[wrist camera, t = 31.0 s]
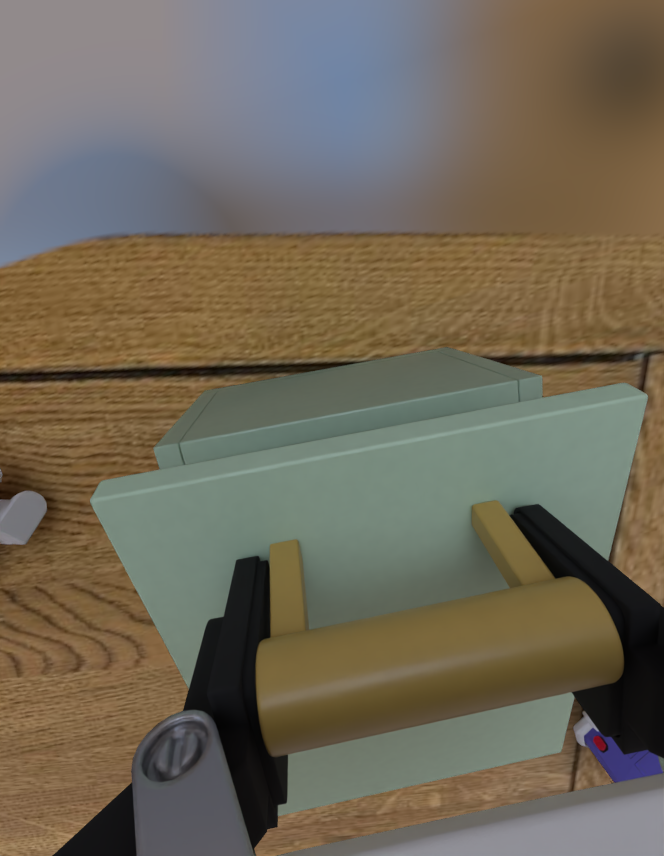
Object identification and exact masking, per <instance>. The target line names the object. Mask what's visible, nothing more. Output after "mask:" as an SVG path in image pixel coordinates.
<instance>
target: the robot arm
mask: <svg viewBox="0 0 664 856" xmlns="http://www.w3.org/2000/svg"><path fill="white" fill-rule="evenodd" d="M509 516H510V517H511V519H512V520H513V521H514V523H515V524H516V525H517V527H518V528H519V529H520V531H521V532H522V534H523V535H524V536H525V538H526V539H527V540H528V542H529V543H530V544H531V546H532V547H533V549H534V550H535V551H536V553H537V554H538V555H539V557H540V558H541V559H542V561H543V562H544V563H545V565H546V566H547V568H548V569H549V570H550V572H551V573H552V574H553V576H554V577H555V578H556V579H557V578H561V577H566V576H570V577H575V578H578V579H580V580H582V581H583V582H585V583H586V584H587V585H588V586H589V587H590V588H591V589H592V590H593V591H594V592H595V593H596V594H597V596H598V597H599V598H600V600H601V601H602V602H603V604H604V605H605V607H606V609H607V610H608V612H609V614H610V616H611V618H612V620H613V622H614V624H615V627H616V629H617V632H618V634H619V637H620V641H621V644H622V649H623V655H624V670H623V674H622V676H621V677H620V678H619V679H618V680H617V681H616V682H615V683H611V684H606V685H602V686H597V687H593V688H588V689H584V690H579V691H575V692H572V694H573V695H574V697H575V698H576V699H577V701H578V702H579V704H580V705H581V706H582V708H583V709H584V711H585V712H586V713H587V715H588V716H589V718H590V719H591V721H592V722H593V723H594V725H595V726H596V728H597V729H598V730H599V732H600V733H601V734H602V735H603V736H604V737H612V739H613V740H614V742H615V743H616V744H617V746H618V747H619V748H620V750H621V751H622V753H623V754H624V755H626V754H630V753H635V752H640V751H645V750H648V751H649V752H650V753H653V754H655V755H657V756H658V759H659V763H660V766H661V768H662V771H663V773H661V774H656V775H651V776H646V777H641V778H636V779H631V780H626V781H621V782H617V783H612V784H607V785H602V786H597V787H592V788H588V789H583V790H578V791H573V792H569V793H564V794H559V795H554V796H549V797H545V798H540V799H535V800H530V801H526V802H521V803H516V804H511V805H507V806H502V807H497V808H493V809H488V810H483V811H478V812H474V813H469V814H464V815H459V816H455V817H450V818H445V819H441V820H436V821H431V822H427V823H422V824H418V825H413V826H408V827H404V828H399V829H395V830H390V831H385V832H381V833H376V834H372V835H367V836H362V837H358V838H353V839H349V840H344V841H339V842H335V843H330V844H326V845H321V846H316V847H312V848H307V849H303V850H298V851H294V852H290V853H286V854H282V855H277V856H664V608H663V607H662V606H661V605H660V604H659V603H658V602H657V601H656V600H655V599H653V598H652V597H651V596H650V595H649V594H647V593H646V592H645V591H644V590H643V589H641V588H640V587H639V586H638V585H636V584H635V583H634V582H633V581H632V580H630V579H629V578H628V577H627V576H626V575H624V574H623V573H622V572H621V571H620V570H618V569H617V568H616V567H615V566H613V565H612V564H611V563H610V562H609V561H607V560H606V559H605V558H604V557H603V556H601V555H600V554H599V553H598V552H597V551H595V550H594V549H593V548H592V547H590V546H589V545H588V544H587V543H586V542H584V541H583V540H582V539H581V538H580V537H578V536H577V535H576V534H575V533H574V532H572V531H571V530H570V529H569V528H568V527H566V526H565V525H564V524H563V523H561V522H560V521H559V520H558V519H557V518H555V517H554V516H553V515H552V514H551V513H549V512H548V511H547V510H546V509H545V508H543V507H542V506H541V505H539V504H534V505H529V506H523V507H518V508H516V509H515V510H514V514H511V515H509ZM267 638H270V567H269V563H268V561H267V560H264V561H260V558H259V556H254V557H249V558H243V559H238V560H236V563H235V567H234V572H233V576H232V581H231V585H230V590H229V594H228V599H227V603H226V608H225V613H224V617H219V618H213V619H210V620H209V621H208V622H207V625H206V628H205V631H204V635H203V639H202V643H201V646H200V650H199V654H198V657H197V661H196V665H195V669H194V672H193V676H192V680H191V683H190V687H189V691H188V694H187V698H186V702H185V706H184V709H183V711H181V712H179V713H176V714H174V715H171V716H169V717H168V718H166V719H164V720H163V721H161V722H160V723H158V724H157V725H156V726H155V727H154V728H153V729H152V730H151V731H150V732H149V733H148V734H147V735H146V736H145V737H144V739H143V740H142V742H141V743H140V744H139V746H138V748H137V750H136V753H135V755H134V757H133V762H132V770H131V773H132V783H131V784H130V785H129V786H128V787H126V788H125V789H124V790H123V791H122V792H121V793H120V794H119V795H118V796H117V797H116V798H115V799H114V800H112V801H111V802H110V803H109V804H108V805H107V806H106V807H105V808H104V809H103V810H102V811H101V812H99V813H98V814H97V815H96V816H95V817H94V818H93V819H92V820H91V821H90V822H89V823H88V824H86V825H85V826H84V827H83V828H82V829H81V830H80V831H79V832H78V833H77V834H76V835H75V836H74V837H72V838H71V839H70V840H69V841H68V842H67V843H66V844H65V845H64V846H63V847H62V848H61V849H59V850H58V851H57V852H56V853H55V854H54V855H53V856H256V853H255V850H254V848H255V847H256V845H257V844H258V843H259V841H260V840H261V839H262V837H263V836H264V835H265V834H266V832H267V829H270V828H275V827H277V825H278V805H282V804H286V803H287V796H288V755H284V756H279V757H272V756H270V755H269V754H268V752H267V749H266V747H265V744H264V741H263V737H262V733H261V728H260V723H259V716H258V709H257V699H256V683H255V664H256V654H257V649H258V645H259V643H260V642H261V641H262V640H263V639H267Z"/></svg>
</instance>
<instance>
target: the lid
mask: <svg viewBox="0 0 664 856" xmlns="http://www.w3.org/2000/svg"><path fill="white" fill-rule="evenodd" d="M647 400H648V396H647V394H645V393H644V392H642V391H640V390H638V389H636V388H635V387H633V386H631V385H629V384H627V383H619V384H614V385H609V386H603V387H598V388H593V389H587V390H582V391H577V392H571V393H566V394H561V395H555V396H550V397H545V398H539V399H534V400H529V401H523V402H518V403H513V404H507V405H502V406H497V407H491V408H486V409H481V410H475V411H470V412H465V413H459V414H454V415H449V416H443V417H438V418H433V419H427V420H422V421H417V422H411V423H406V424H401V425H395V426H390V427H385V428H379V429H374V430H369V431H363V432H358V433H353V434H347V435H342V436H337V437H331V438H326V439H321V440H315V441H310V442H305V443H299V444H294V445H289V446H283V447H278V448H273V449H267V450H262V451H257V452H251V453H246V454H241V455H235V456H230V457H225V458H219V459H214V460H209V461H204V462H198V463H193V464H188V465H182V466H177V467H172V468H166V469H161V470H156V471H150V472H145V473H140V474H134V475H129V476H124V477H118V478H113V479H108V480H103V481H101V482H100V483H99V485H98V487H97V488H96V490H95V492H94V494H93V496H92V497H91V499H90V503H91V505H92V507H93V509H94V511H95V513H96V515H97V517H98V518H99V520H100V522H101V524H102V526H103V528H104V530H105V532H106V534H107V535H108V537H109V539H110V541H111V543H112V545H113V547H114V549H115V551H116V552H117V554H118V556H119V558H120V560H121V562H122V564H123V566H124V568H125V569H126V571H127V573H128V575H129V577H130V579H131V581H132V583H133V585H134V586H135V588H136V590H137V592H138V594H139V596H140V598H141V600H142V602H143V603H144V605H145V607H146V609H147V611H148V613H149V615H150V617H151V619H152V620H153V622H154V624H155V626H156V628H157V630H158V632H159V634H160V636H161V637H162V639H163V641H164V643H165V645H166V647H167V649H168V651H169V653H170V654H171V656H172V658H173V660H174V662H175V664H176V666H177V668H178V670H179V671H180V673H181V675H182V677H183V679H184V681H185V683H186V685H187V687H188V688H189V687H190V683H191V680H192V676H193V672H194V669H195V665H196V661H197V657H198V654H199V650H200V646H201V643H202V639H203V635H204V631H205V628H206V625H207V622H208V621H209V620H210V619H213V618H219V617H224V613H225V608H226V603H227V599H228V594H229V590H230V585H231V581H232V576H233V572H234V567H235V563H236V560H238V559H243V558H249V557H254V556H259V558H260V561H264V560H267V561H268V563H269V567H270V638H267V639H263V640H262V641H261V642H260V643H259V645H258V649H257V654H256V664H255V683H256V699H257V709H258V716H259V723H260V728H261V733H262V737H263V741H264V744H265V747H266V749H267V752H268V754H269V755H270V756H272V757H279V756H284V755H288V796H287V803H286V804H282V805H278V816H280V815H285V814H289V813H294V812H298V811H303V810H307V809H311V808H316V807H320V806H325V805H329V804H334V803H338V802H342V801H347V800H351V799H356V798H360V797H365V796H369V795H373V794H378V793H382V792H387V791H391V790H395V789H400V788H404V787H409V786H413V785H418V784H422V783H426V782H431V781H435V780H440V779H444V778H449V777H453V776H457V775H462V774H466V773H471V772H475V771H480V770H484V769H488V768H493V767H497V766H502V765H506V764H511V763H515V762H519V761H524V760H528V759H533V758H537V757H541V756H546V755H550V754H555V753H559V752H561V751H562V747H563V742H564V738H565V734H566V730H567V726H568V722H569V718H570V714H571V710H572V706H573V702H574V698H575V697H574V695H573V694H572V692H575V691H579V690H584V689H588V688H593V687H597V686H602V685H606V684H611V683H615V682H616V681H617V680H618V679H619V678H620V677H621V676H622V674H623V670H624V655H623V649H622V644H621V641H620V637H619V634H618V632H617V629H616V627H615V624H614V622H613V620H612V618H611V616H610V614H609V612H608V610H607V609H606V607H605V605H604V604H603V602H602V601H601V600H600V598H599V597H598V596H597V594H596V593H595V592H594V591H593V590H592V589H591V588H590V587H589V586H588V585H587V584H586V583H585V582H583V581H582V580H580V579H578V578H575V577H570V576H566V577H561V578H557V579H556V578H555V577H554V576H553V574H552V573H551V572H550V570H549V569H548V568H547V566H546V565H545V563H544V562H543V561H542V559H541V558H540V557H539V555H538V554H537V553H536V551H535V550H534V549H533V547H532V546H531V544H530V543H529V542H528V540H527V539H526V538H525V536H524V535H523V534H522V532H521V531H520V529H519V528H518V527H517V525H516V524H515V523H514V521H513V520H512V519H511V517H510V516H509V515H511V514H514V510H515V509H516V508H518V507H523V506H529V505H534V504H539V505H541V506H542V507H543V508H545V509H546V510H547V511H548V512H549V513H551V514H552V515H553V516H554V517H555V518H557V519H558V520H559V521H560V522H561V523H563V524H564V525H565V526H566V527H568V528H569V529H570V530H571V531H572V532H574V533H575V534H576V535H577V536H578V537H580V538H581V539H582V540H583V541H584V542H586V543H587V544H588V545H589V546H590V547H592V548H593V549H594V550H595V551H597V552H598V553H599V554H600V555H601V556H603V557H604V558H605V559H606V560H607V561H608V559H609V555H610V551H611V547H612V542H613V538H614V534H615V530H616V526H617V522H618V518H619V514H620V510H621V506H622V502H623V498H624V493H625V489H626V485H627V481H628V477H629V473H630V469H631V465H632V461H633V457H634V453H635V449H636V445H637V440H638V436H639V432H640V428H641V424H642V420H643V416H644V412H645V408H646V404H647Z"/></svg>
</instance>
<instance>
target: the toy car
mask: <svg viewBox="0 0 664 856" xmlns="http://www.w3.org/2000/svg"><path fill="white" fill-rule="evenodd" d="M582 713H583V715H584V717H583V718H582V719H581V720H580V721H578V722H577V723H576V724H575V725H574V727H573V729H574V732H575V736H576V739H577V742H578V743H579V744H580V745H582V746H585V747H588V748H590V750H591V751H592V752H593V754H594V755H595V756H596V758H597V759H598V761H599V762H600V763H601V765H602V766H603V767H604V769H605V770H606V772H607V773H608V774H609V776H610V777H611V778H612V780H613V781H614V782H615V783H617V782H621V781H626V780H631V779H636V778H641V777H646V776H651V775H656V774H661V773H663V771H662V768H661V766H660V763H659V759H658V756H657V755H655V754H653V753H650V752H649V751H648V750H645V751H640V752H635V753H630V754H626V755H624V754H623V753H622V751H621V750H620V748H619V747H618V746H617V744H616V743H615V742H614V740H613V739H612V737H604V736H603V735H602V734H601V733H600V732H599V730H598V729H597V728H596V726H595V725H594V723H593V722H592V721H591V719H590V718H589V716H588V715H587V713H586V712H585V711H583V712H582Z"/></svg>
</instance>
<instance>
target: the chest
mask: <svg viewBox="0 0 664 856" xmlns="http://www.w3.org/2000/svg"><path fill="white" fill-rule="evenodd" d="M539 398H543V396H542V376H541V375H537V374H534V373H531V372H528V371H524V370H521V369H518V368H514V367H511V366H508V365H505V364H501V363H498V362H495V361H492V360H488V359H485V358H482V357H478V356H475V355H472V354H469V353H465V352H462V351H459V350H456V349H451V348H448V347H445V348H440V349H434V350H428V351H423V352H417V353H412V354H406V355H401V356H395V357H390V358H384V359H379V360H373V361H367V362H362V363H356V364H351V365H345V366H340V367H334V368H329V369H323V370H318V371H312V372H306V373H301V374H295V375H290V376H284V377H279V378H273V379H268V380H262V381H257V382H251V383H245V384H240V385H234V386H229V387H223V388H218V389H212V390H207V391H204V392H203V393H202V394H201V395H200V396H199V398H198V399H197V400H196V401H195V402H194V403H193V404H192V405H191V406H190V408H189V409H188V410H187V411H186V412H185V413H184V414H183V415H182V417H181V418H180V419H179V420H178V421H177V422H176V423H175V424H174V425H173V427H172V428H171V429H170V430H169V431H168V432H167V433H166V434H165V436H164V437H163V438H162V439H161V440H160V441H159V442H158V443H157V444H156V446H155V447H154V452H155V456H156V459H157V462H158V466H159V469H160V470H161V469H166V468H172V467H177V466H182V465H188V464H193V463H198V462H204V461H209V460H214V459H219V458H225V457H230V456H235V455H241V454H246V453H251V452H257V451H262V450H267V449H273V448H278V447H283V446H289V445H294V444H299V443H305V442H310V441H315V440H321V439H326V438H331V437H337V436H342V435H347V434H353V433H358V432H363V431H369V430H374V429H379V428H385V427H390V426H395V425H401V424H406V423H411V422H417V421H422V420H427V419H433V418H438V417H443V416H449V415H454V414H459V413H465V412H470V411H475V410H481V409H486V408H491V407H497V406H502V405H507V404H513V403H518V402H523V401H529V400H534V399H539Z"/></svg>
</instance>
